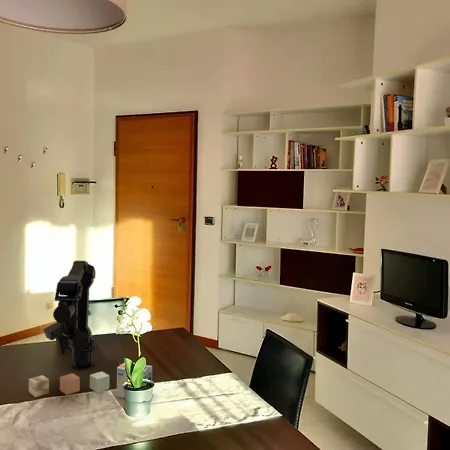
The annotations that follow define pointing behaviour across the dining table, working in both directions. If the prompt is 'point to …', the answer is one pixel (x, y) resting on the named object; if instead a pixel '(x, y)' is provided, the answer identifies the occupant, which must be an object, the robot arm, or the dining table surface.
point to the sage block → (99, 381)
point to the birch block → (38, 386)
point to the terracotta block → (69, 384)
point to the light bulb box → (123, 377)
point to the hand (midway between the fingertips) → (68, 357)
